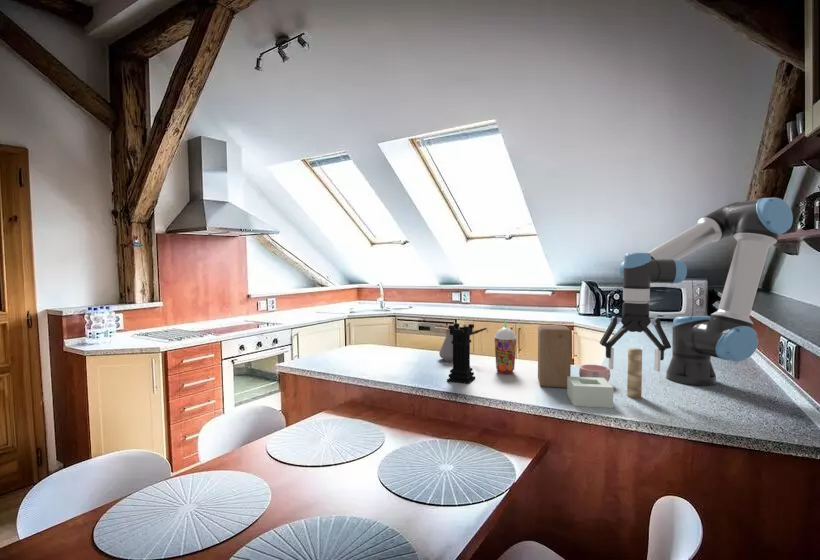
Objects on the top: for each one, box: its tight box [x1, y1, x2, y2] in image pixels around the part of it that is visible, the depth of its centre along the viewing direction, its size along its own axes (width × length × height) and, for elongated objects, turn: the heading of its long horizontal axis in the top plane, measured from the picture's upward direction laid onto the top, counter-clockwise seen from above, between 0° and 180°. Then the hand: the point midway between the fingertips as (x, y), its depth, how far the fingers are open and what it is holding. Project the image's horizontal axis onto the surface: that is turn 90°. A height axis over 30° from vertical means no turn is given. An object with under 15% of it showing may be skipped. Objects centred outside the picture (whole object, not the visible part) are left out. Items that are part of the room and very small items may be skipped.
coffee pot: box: [439, 327, 489, 363], centre depth 192 cm, size 21×12×15 cm, turn 66°
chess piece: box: [446, 322, 476, 385], centre depth 161 cm, size 8×8×20 cm
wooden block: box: [537, 324, 572, 389], centre depth 156 cm, size 10×10×20 cm
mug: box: [578, 364, 611, 382], centre depth 157 cm, size 12×10×6 cm
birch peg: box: [626, 347, 643, 400], centre depth 141 cm, size 4×4×15 cm
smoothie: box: [494, 320, 517, 375], centre depth 172 cm, size 8×8×20 cm
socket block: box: [566, 375, 614, 409], centre depth 137 cm, size 11×11×6 cm
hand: (633, 369), depth 141 cm, fingers open, 13 cm apart
